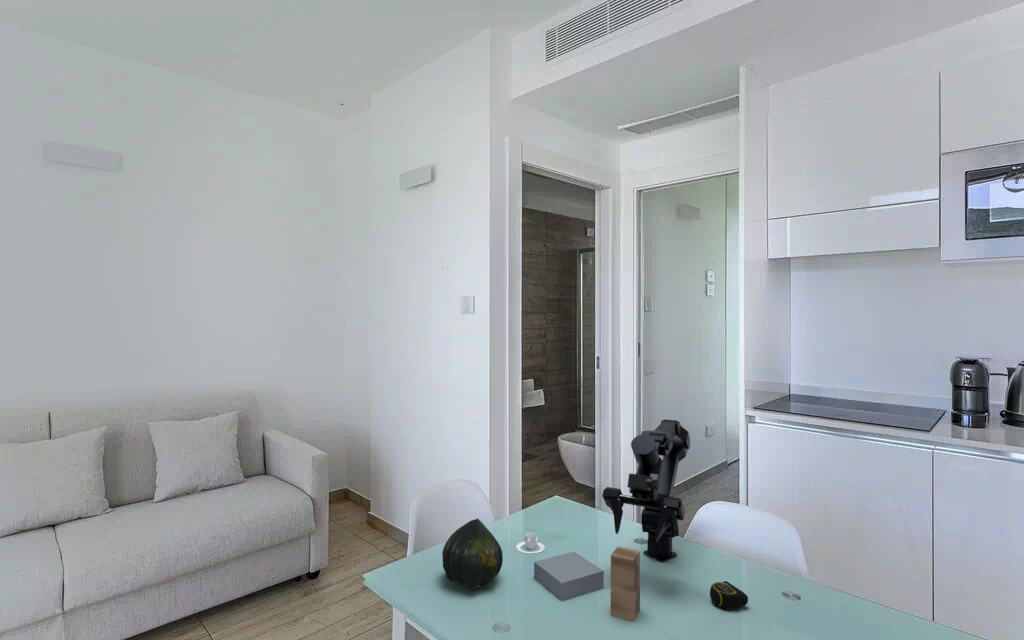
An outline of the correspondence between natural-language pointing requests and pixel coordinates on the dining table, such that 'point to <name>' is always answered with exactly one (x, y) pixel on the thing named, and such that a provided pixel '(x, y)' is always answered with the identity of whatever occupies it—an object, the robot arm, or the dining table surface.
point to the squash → (472, 556)
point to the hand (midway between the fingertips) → (635, 537)
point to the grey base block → (568, 575)
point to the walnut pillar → (625, 583)
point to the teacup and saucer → (530, 543)
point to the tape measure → (727, 595)
